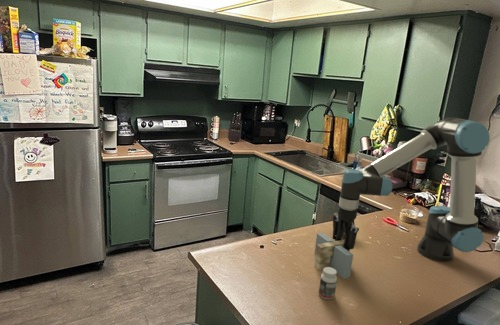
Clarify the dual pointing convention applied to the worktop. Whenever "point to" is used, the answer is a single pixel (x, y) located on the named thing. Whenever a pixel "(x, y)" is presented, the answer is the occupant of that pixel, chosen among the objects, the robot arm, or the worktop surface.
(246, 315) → the worktop surface
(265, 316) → the worktop surface
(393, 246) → the worktop surface
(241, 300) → the worktop surface
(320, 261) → the beige flat block
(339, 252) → the slate notched block
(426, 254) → the robot arm
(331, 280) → the pill bottle
